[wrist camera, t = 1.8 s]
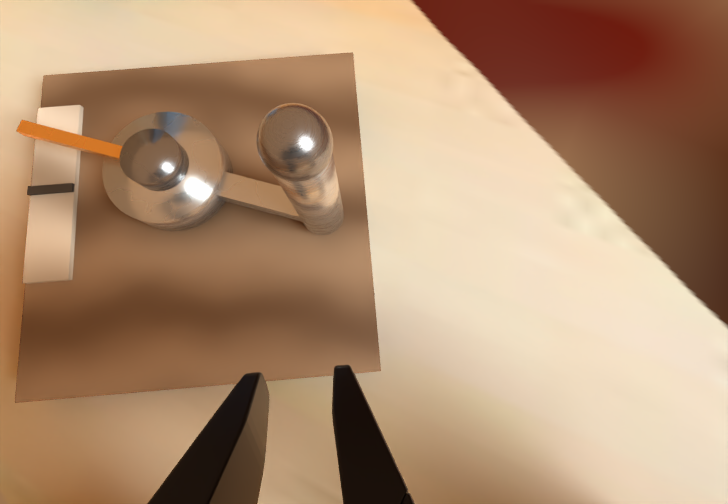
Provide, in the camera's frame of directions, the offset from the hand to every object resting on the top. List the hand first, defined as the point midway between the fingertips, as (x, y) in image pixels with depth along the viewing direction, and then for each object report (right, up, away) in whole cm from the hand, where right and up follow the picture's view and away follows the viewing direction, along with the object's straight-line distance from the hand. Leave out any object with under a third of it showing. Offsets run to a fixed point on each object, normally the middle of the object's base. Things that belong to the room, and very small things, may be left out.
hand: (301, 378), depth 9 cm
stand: (-8, +5, +15) cm, 18 cm away
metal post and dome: (-8, +7, +13) cm, 17 cm away
